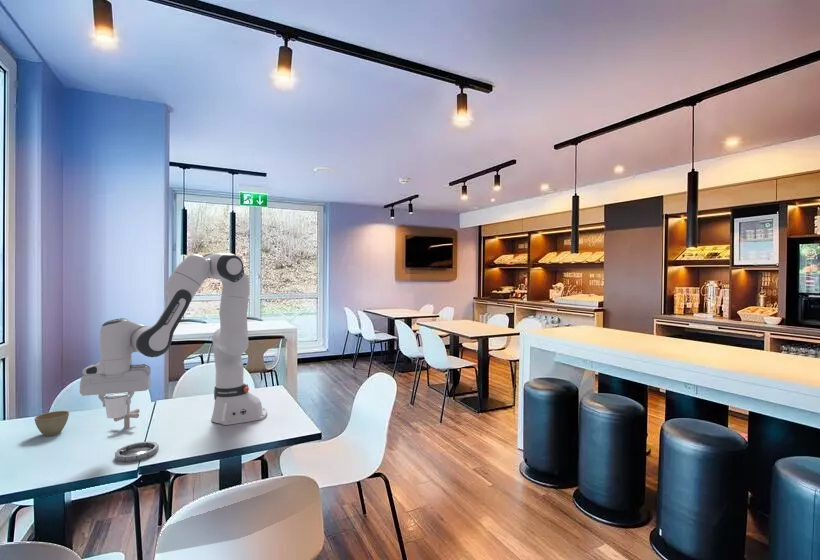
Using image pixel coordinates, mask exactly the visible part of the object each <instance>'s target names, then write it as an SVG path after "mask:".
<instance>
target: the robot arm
mask: <svg viewBox="0 0 820 560" xmlns="http://www.w3.org/2000/svg"><path fill="white" fill-rule="evenodd" d="M244 268H245V267H244V262H243V260H242V258H241V257H240V256H239V255H236V254H234V253H229V252H228V253H227V252H226V253H225V252H217V253H208V254H205V255H201V254H197V253H195V254H189V255H187V256H186V258H184V259H183V260H182V261H181V262H180V263H179V264H178V266H176V268H175V269H174V270H173V271H172V273H171V274H170V276H169V277H168V279H167V281H166V283H165V285H164V292H165V295H166V296H167V299H168V301H167V305H166V307H165V308H164V310H163V312H162V313H161V314H160V316H159V318H158V320H157V321H156V322H155V324H153V325H152V326H150V325H145V324H140V323H137V322H134V321H132V320H129V319H128V318H124V317H123V318H122V317H121V318H115V319H111V320H108V321H105V322H104V323H103V324H102V325H101V327H100V330H99V349H100V356H99V362H95V363H93V364H90V365H88V366H87V367H85V368H84V367H83V369H82V374H83V375H82V376H81V378H80V383H79V394H80V395H81V396H84V397H85V396H97V395H98V399H99V400H100V401H101V403H102V407H103V408H106V406H105V399H104V397H105V396H107V395H111V394H115V393H128V399H127V400H126V405H129V404H130V405H131V403H132V400H131V399H132V398H133V396H134V395H135V392H146V391H147V390H149V389H150V388H151V386H152V382H151V381H152V380H151V371H152V370H151V369H152V368H151V367H150V366H149V365H148V364H145V363H141V364H132V362H133V361H132V354H133V353H140V354H142V355H143V356H145V357H148V358H157V357H160V356H162V355H164V354H165V353H166V352H168V351H169V349H170V348H171V345H172V342H173V337H174V333H175V331H176V329H177V327H178V326H179V323H180V322H181V320H182V318H183V317H184V316H185V313H186V311H187V309H188V308H189V306H190V304H191V302H192V300H193V299H194V297H195V296H196V294H197V292H198V291H199V290H200V287H202V285H203V283H204V282H205V281H206V280H207V279H215V280H220V281H221V285H222V289H221V296H220V305H219V311H218V312H219V313H218V315H219V322H220V325H219V326H220V328H218V329H217V330H215V331H214V332H213V335H212V346H213V347H212V348H213V357H214V365H215V386H214V389H213V399H214V406H213V411H212V415H211V418H210V421H211V422H213V423H216V424H221V425H223V426H229V425H236V424H243V423H248V422H254V421H262V420H264V419H265V418H267V415H268V410H267V408H265V407H262V402H261V399H260V398H259V397H258V396H255V395H254V394H252V393H251V392H249V391H250V388H249V384H248V383H247V384H246V383H244V372H245V371H244V363H243V359H242V355H243V354H244V353H245V352H247V350H248V348H249V343H250V341H249V335H248V306H249V299H250V298H249V297H250V279H249V276H248V274H246V273H245V270H244Z"/></svg>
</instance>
